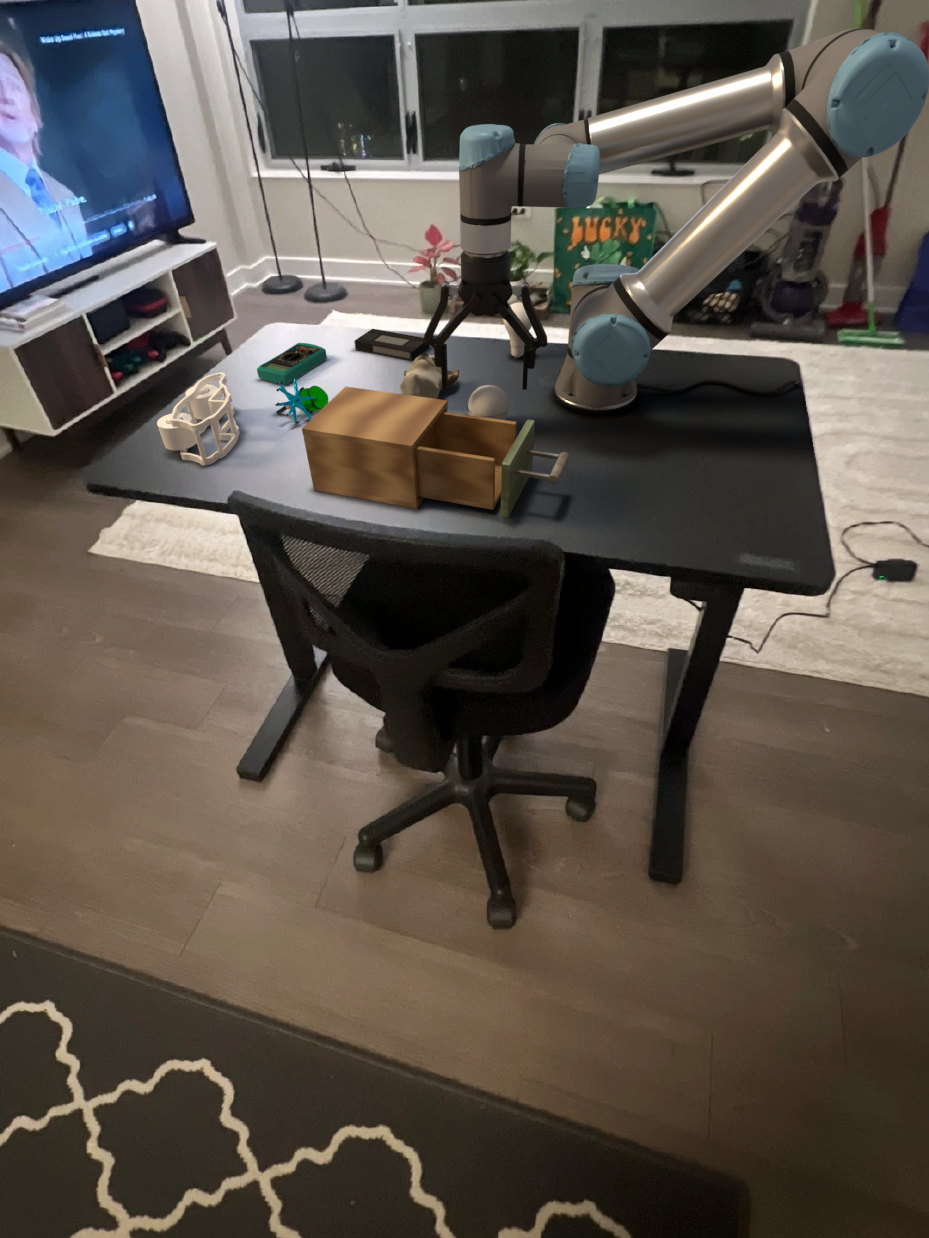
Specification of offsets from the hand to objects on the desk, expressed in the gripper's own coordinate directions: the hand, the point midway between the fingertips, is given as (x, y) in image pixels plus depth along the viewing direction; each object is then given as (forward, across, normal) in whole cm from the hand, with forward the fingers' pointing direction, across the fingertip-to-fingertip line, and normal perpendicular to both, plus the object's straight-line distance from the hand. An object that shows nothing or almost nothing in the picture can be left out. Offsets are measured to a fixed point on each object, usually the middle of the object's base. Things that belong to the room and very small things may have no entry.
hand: (484, 385), depth 121 cm
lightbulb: (+8, -5, -31) cm, 33 cm away
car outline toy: (+9, +49, +4) cm, 50 cm away
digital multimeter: (+9, +41, -24) cm, 48 cm away
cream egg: (+8, 0, 0) cm, 8 cm away
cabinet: (+8, +16, +16) cm, 24 cm away
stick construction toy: (+9, +35, -5) cm, 36 cm away
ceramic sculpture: (+8, +12, -13) cm, 19 cm away
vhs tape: (+8, +22, -35) cm, 42 cm away
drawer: (+7, -2, +21) cm, 22 cm away
